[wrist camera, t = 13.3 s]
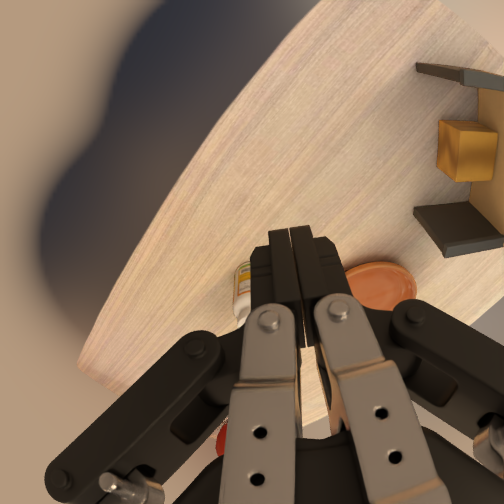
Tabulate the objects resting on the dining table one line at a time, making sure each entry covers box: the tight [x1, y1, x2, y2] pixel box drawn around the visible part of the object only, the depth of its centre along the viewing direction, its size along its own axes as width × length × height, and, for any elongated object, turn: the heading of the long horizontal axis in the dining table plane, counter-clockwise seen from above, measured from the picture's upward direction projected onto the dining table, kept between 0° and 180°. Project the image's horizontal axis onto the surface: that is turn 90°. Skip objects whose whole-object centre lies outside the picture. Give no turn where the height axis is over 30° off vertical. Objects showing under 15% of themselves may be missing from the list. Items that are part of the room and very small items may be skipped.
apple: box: [216, 424, 227, 456], centre depth 72 cm, size 10×10×14 cm
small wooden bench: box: [413, 63, 504, 258], centre depth 26 cm, size 11×21×16 cm, turn 10°
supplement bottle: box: [233, 262, 251, 328], centre depth 41 cm, size 5×5×10 cm
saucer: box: [345, 262, 417, 311], centre depth 46 cm, size 16×16×3 cm
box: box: [437, 120, 498, 182], centre depth 30 cm, size 6×6×5 cm
